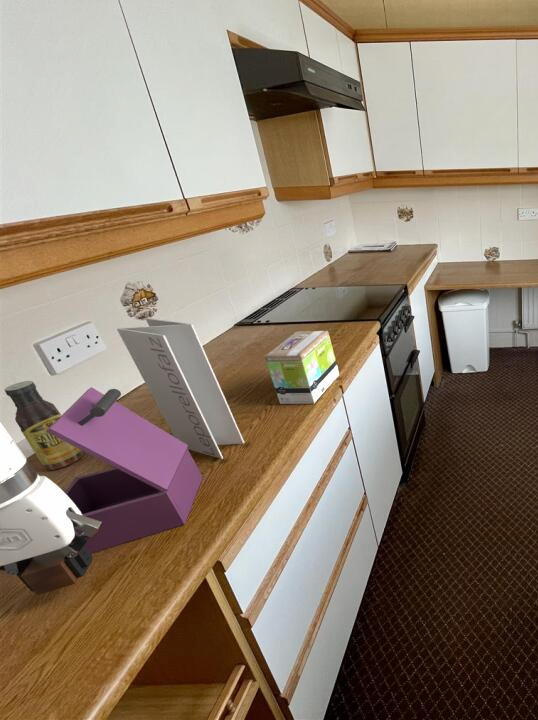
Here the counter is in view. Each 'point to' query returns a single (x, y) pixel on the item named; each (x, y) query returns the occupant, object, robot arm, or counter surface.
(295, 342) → the tea box
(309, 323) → the counter surface
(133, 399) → the counter surface
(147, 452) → the file lid
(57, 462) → the sauce bottle
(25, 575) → the block
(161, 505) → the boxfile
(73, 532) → the robot arm
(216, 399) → the brochure
